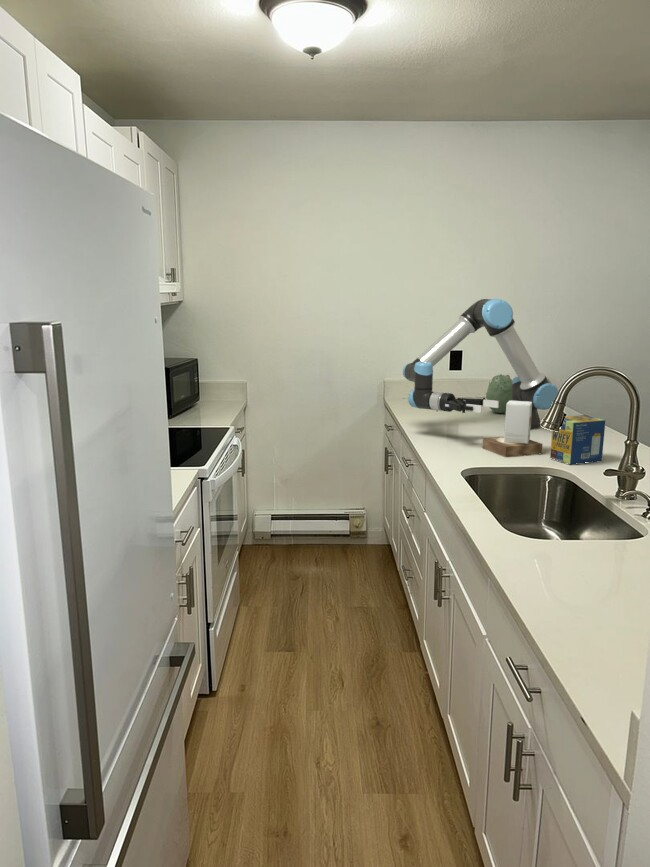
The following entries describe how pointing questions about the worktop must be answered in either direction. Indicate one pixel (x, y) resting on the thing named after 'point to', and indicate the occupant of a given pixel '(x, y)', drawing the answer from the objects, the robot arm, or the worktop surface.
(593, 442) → the protein box
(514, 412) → the supplement box
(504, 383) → the cabbage
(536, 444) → the pedestal
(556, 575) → the worktop surface
